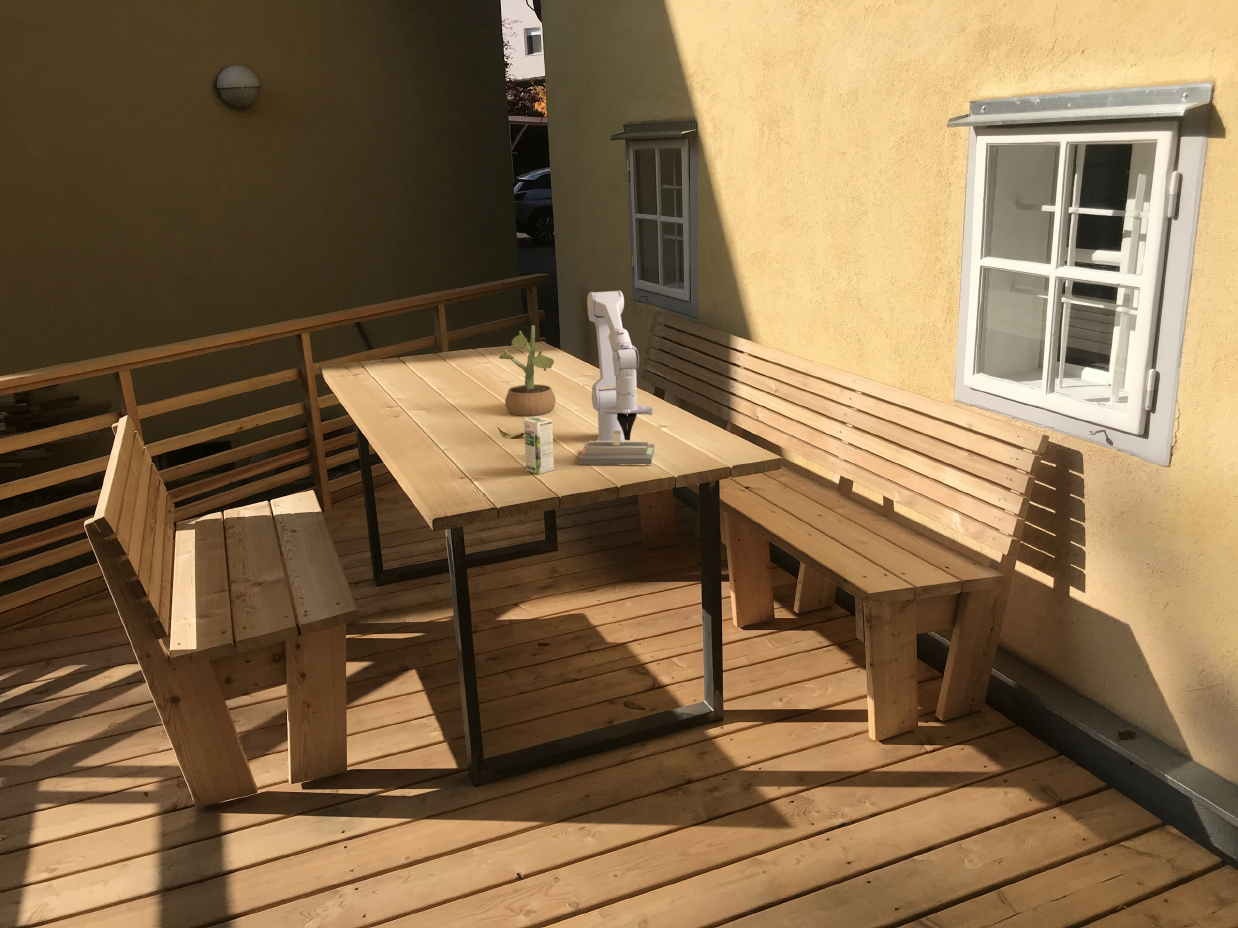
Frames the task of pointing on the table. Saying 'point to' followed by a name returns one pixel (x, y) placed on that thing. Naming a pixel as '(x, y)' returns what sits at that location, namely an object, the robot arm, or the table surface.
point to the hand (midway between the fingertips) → (627, 439)
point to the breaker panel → (616, 453)
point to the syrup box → (538, 444)
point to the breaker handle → (617, 439)
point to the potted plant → (529, 382)
